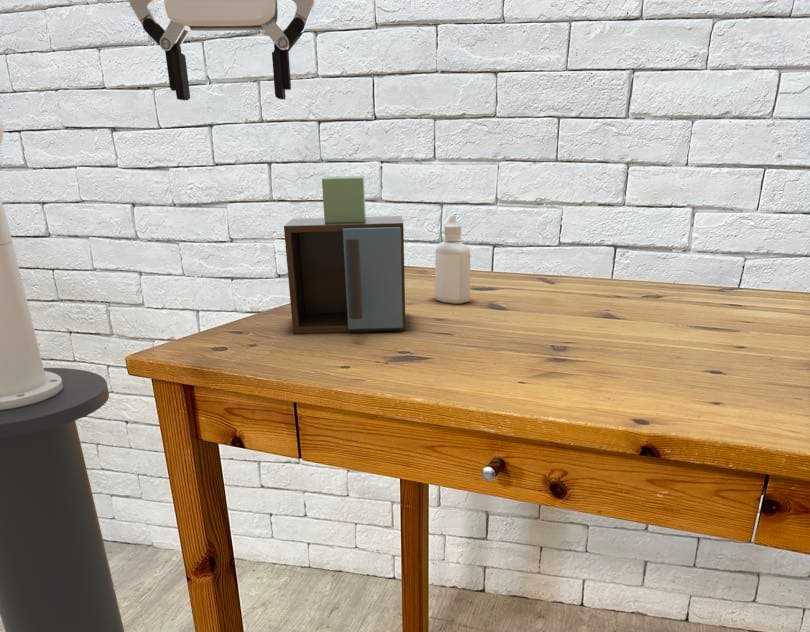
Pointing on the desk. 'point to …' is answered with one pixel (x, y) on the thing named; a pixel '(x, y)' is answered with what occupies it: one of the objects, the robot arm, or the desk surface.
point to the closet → (325, 273)
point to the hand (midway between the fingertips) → (232, 99)
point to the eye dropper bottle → (452, 267)
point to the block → (344, 199)
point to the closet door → (373, 277)
